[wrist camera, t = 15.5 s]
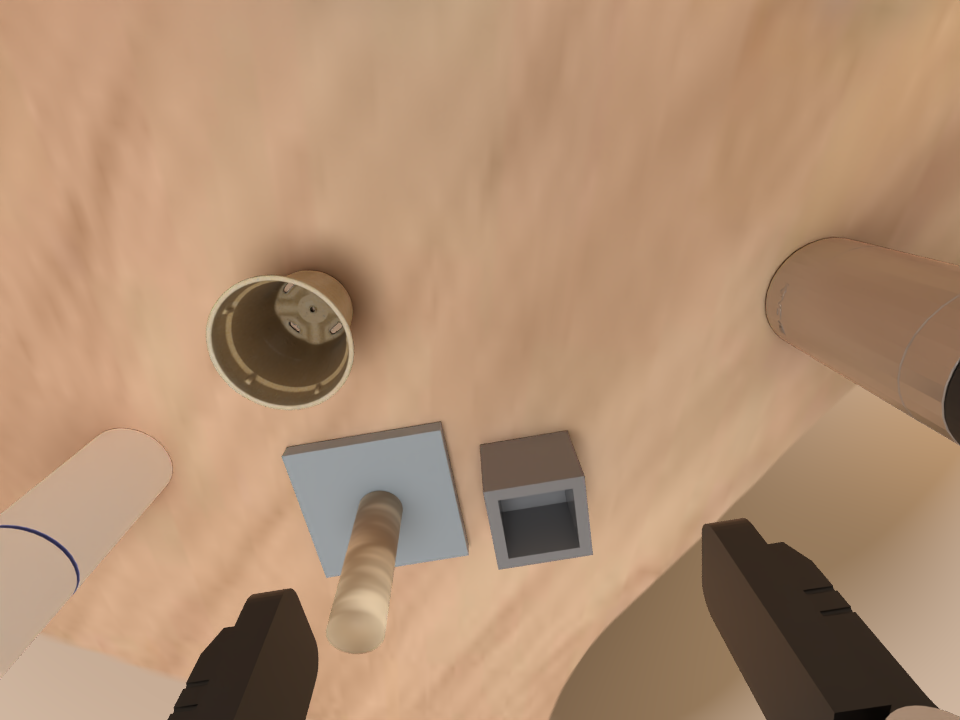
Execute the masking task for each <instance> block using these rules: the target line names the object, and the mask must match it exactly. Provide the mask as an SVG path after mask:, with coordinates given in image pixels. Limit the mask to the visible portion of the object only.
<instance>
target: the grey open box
mask: <svg viewBox="0 0 960 720" xmlns="http://www.w3.org/2000/svg"><path fill="white" fill-rule="evenodd" d="M480 454H481V469H482V483H483V494H484V499H485V504H486V509H487V514H488V519H489V524H490V529H491V534H492V539H493V544H494V549H495V554H496V559H497V564H498V569H499V570H500V569H506V568H512V567H519V566H525V565H531V564H538V563H544V562H551V561H557V560H563V559H570V558H576V557H582V556H589V555H593V551H592V542H591V532H590V523H589V514H588V504H587V495H586V486H585V476H584V473H583V471H582V468H581V466H580V463H579V460H578V458H577V455H576V452H575V450H574V447H573V445H572V442H571V439H570V437H569V434H568V431H562V432H555V433H549V434H543V435H537V436H531V437H525V438H519V439H513V440H507V441H501V442H495V443H489V444H483V445H480Z"/></svg>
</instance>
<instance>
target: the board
mask: <svg viewBox="0 0 960 720" xmlns="http://www.w3.org/2000/svg"><path fill="white" fill-rule="evenodd" d="M282 459H283V461H284V464H285V467H286V470H287V472H288V475H289V478H290V480H291V483H292V486H293V489H294V491H295V494H296V497H297V499H298V502H299V505H300V508H301V510H302V513H303V516H304V518H305V521H306V524H307V527H308V529H309V532H310V535H311V537H312V540H313V543H314V546H315V548H316V551H317V554H318V556H319V559H320V562H321V565H322V567H323V570H324V573H325V575H326V578H328V577H334V576H340V575H341V571H342V567H343V564H344V560H345V556H346V552H347V548H348V544H349V541H350V537H351V533H352V529H353V525H354V522H355V518H356V514H357V510H358V506H359V503H360V501H361V499H362V498H363V497H364V496H365V495H367V494H368V493H371V492H374V491H386V492H389V493H391V494H393V495H395V496H396V497H397V498H398V499H399V500H400V501H401V503H402V507H403V512H402V519H401V526H400V533H399V540H398V547H397V554H396V561H395V567H397V566H403V565H410V564H416V563H422V562H429V561H435V560H441V559H448V558H454V557H460V556H467V555H469V554H468V541H467V536H466V532H465V527H464V523H463V518H462V514H461V509H460V505H459V500H458V496H457V491H456V487H455V483H454V478H453V474H452V469H451V465H450V460H449V456H448V451H447V447H446V442H445V438H444V433H443V429H442V424H441V422H436V423H430V424H424V425H418V426H412V427H406V428H400V429H394V430H388V431H382V432H376V433H370V434H364V435H358V436H352V437H346V438H340V439H334V440H328V441H322V442H316V443H310V444H304V445H298V446H292V447H287V448H286V450H285V452H284V453H283V455H282Z"/></svg>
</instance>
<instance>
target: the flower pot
mask: <svg viewBox="0 0 960 720" xmlns="http://www.w3.org/2000/svg"><path fill="white" fill-rule="evenodd" d="M288 283H291V284H295V285H294V286H292V288H291V289H290V290H289V291H288V292H287V293H285V292H284V288H285V286H286V285H287V284H288ZM311 307H314V308H315V312H311V311H310V308H311ZM352 317H353V308H352V302H351V299H350V296H349V294H348V293H347V291H346V289H345V288H344V287H343V286H342V284H341V283H340V282H338V281H337V280H336V279H334V278H333V277H331V276H330V275H328V274H326V273H323V272H319V271H312V270H304V271H298V272H295V273H293V274H290V275H287V276H281V275H263V276H256V277H252V278H248V279H246V280H243V281H241V282H239V283H237V284H235V285H233V286H232V287H230V288H229V289H228V290H227V291H226V292H224V293H223V294H222V296H221V297H220V298H219V299H218V300H217V302H216V303H215V305H214V306H213V308H212V310H211V313H210V315H209V318H208V322H207V328H206V342H207V348H208V352H209V355H210V358H211V361H212V363H213V365H214V367H215V369H216V370H217V372H218V373H219V375H220V376H221V377H222V378H223V380H224V381H225V382H226V383H227V384H228V385H229V386H230V387H231V388H232V389H234V390H235V391H236V392H237V393H239V394H241V395H242V396H243V397H245V398H247V399H248V400H251V401H253V402H255V403H257V404H259V405H262V406H265V407H269V408H273V409H282V410H298V409H305V408H309V407H313V406H316V405H318V404H320V403H322V402H324V401H326V400H328V399H329V398H330V397H332V396H333V395H334V394H335V393H336V392H337V391H338V390H339V389H340V388H341V387H342V386H343V384H344V383H345V381H346V380H347V378H348V376H349V373H350V371H351V368H352V365H353V359H354V342H353V337H352V333H351V330H350V325H351V322H352ZM289 322H292V323H293V324H294V325H297V328H299V329H300V332H297V331H296V330H295V329H293V328H292V327H291V326H290V324H289ZM338 322H339V323H341V324H342V328H341V329H340V330H338V331H337V332H336V333H334V334H331V332H330V330H331V329H332V328H333V327H334V326H335V325H336V324H337V323H338Z"/></svg>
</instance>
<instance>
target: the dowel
mask: <svg viewBox="0 0 960 720" xmlns="http://www.w3.org/2000/svg"><path fill="white" fill-rule="evenodd" d="M402 512H403V507H402V503H401V501H400V500H399V499H398V498H397V497H396V496H395V495H393V494H391V493H389V492H386V491H374V492H371V493H368V494H367V495H365V496H364V497H363V498H362V499H361V501H360V503H359V506H358V510H357V514H356V518H355V522H354V525H353V529H352V533H351V537H350V541H349V544H348V548H347V552H346V556H345V560H344V564H343V567H342V571H341V575H340V579H339V583H338V586H337V590H336V594H335V598H334V602H333V606H332V609H331V613H330V617H329V621H328V625H327V628H326V637H327V639H328V641H329V642H330V644H331V645H332V646H334V647H335V648H336V649H338V650H340V651H343V652H346V653H350V654H363V653H368V652H371V651H373V650H375V649H376V648H378V647H379V646H380V645H381V644H382V642H383V640H384V638H385V631H386V624H387V617H388V610H389V603H390V596H391V589H392V582H393V575H394V568H395V561H396V554H397V547H398V540H399V533H400V526H401V519H402Z"/></svg>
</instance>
